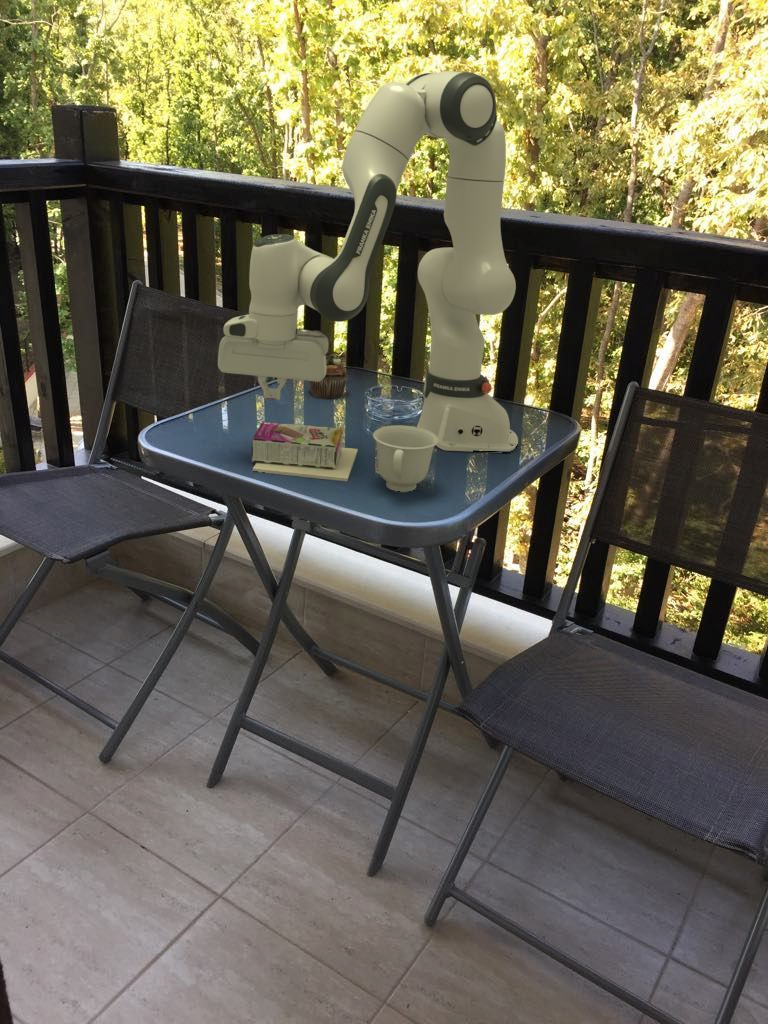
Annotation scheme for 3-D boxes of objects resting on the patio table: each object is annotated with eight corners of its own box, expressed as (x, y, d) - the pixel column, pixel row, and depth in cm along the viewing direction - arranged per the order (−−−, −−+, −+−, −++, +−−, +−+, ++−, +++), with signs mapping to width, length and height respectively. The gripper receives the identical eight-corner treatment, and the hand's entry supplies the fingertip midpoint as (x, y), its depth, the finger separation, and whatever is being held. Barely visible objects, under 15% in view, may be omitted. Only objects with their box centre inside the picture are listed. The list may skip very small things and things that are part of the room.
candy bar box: (261, 419, 173) (343, 427, 172) (261, 443, 175) (341, 450, 174) (251, 437, 162) (337, 446, 162) (250, 462, 164) (336, 470, 164)
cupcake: (353, 398, 208) (355, 358, 204) (315, 401, 204) (317, 359, 200) (337, 387, 216) (339, 347, 212) (301, 389, 212) (302, 349, 208)
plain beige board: (357, 451, 176) (357, 448, 176) (347, 481, 161) (347, 478, 161) (270, 442, 177) (270, 439, 176) (252, 471, 162) (252, 468, 162)
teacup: (360, 500, 154) (363, 447, 150) (375, 470, 167) (379, 421, 163) (426, 509, 152) (432, 457, 148) (437, 479, 166) (442, 429, 162)
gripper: (331, 328, 161) (328, 399, 167) (224, 318, 162) (224, 389, 168) (326, 335, 155) (323, 409, 161) (214, 325, 156) (215, 398, 162)
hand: (271, 398), depth 164 cm, fingers closed
